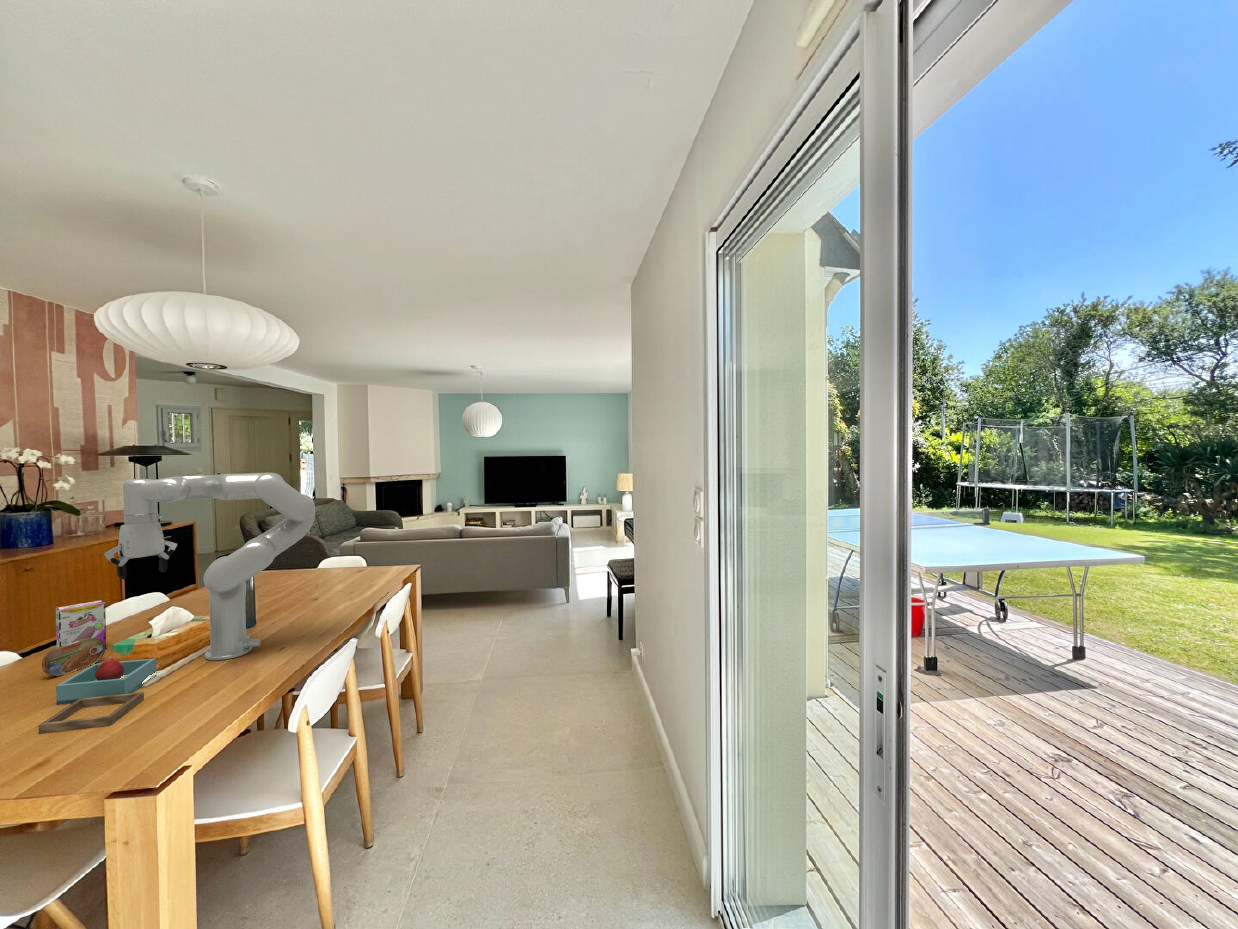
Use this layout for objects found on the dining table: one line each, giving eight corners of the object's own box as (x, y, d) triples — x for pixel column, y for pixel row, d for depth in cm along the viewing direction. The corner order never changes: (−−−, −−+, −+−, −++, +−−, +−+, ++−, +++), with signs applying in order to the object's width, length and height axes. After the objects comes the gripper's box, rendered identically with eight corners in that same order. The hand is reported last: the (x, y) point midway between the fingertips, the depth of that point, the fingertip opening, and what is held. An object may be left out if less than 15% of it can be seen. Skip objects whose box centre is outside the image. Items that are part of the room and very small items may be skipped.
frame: (144, 699, 146) (143, 692, 146) (110, 725, 132) (109, 717, 132) (80, 706, 142) (79, 698, 142) (38, 733, 129) (38, 725, 128)
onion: (99, 691, 148) (98, 662, 148) (93, 686, 151) (92, 658, 151) (127, 684, 153) (126, 656, 153) (120, 679, 156) (119, 651, 156)
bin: (156, 675, 161) (156, 658, 161) (125, 697, 147) (124, 679, 146) (95, 681, 157) (94, 664, 157) (56, 705, 143) (55, 686, 143)
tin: (48, 681, 158) (47, 652, 158) (40, 680, 158) (38, 651, 158) (106, 660, 173) (105, 634, 172) (98, 659, 173) (97, 633, 173)
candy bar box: (60, 662, 172) (57, 610, 171) (56, 658, 174) (54, 607, 174) (107, 651, 181) (105, 601, 180) (103, 647, 184) (101, 599, 183)
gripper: (169, 515, 175) (171, 568, 176) (98, 522, 160) (101, 580, 161) (180, 516, 171) (182, 570, 172) (108, 524, 156) (111, 583, 157)
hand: (143, 575), depth 167 cm, fingers open, 9 cm apart
